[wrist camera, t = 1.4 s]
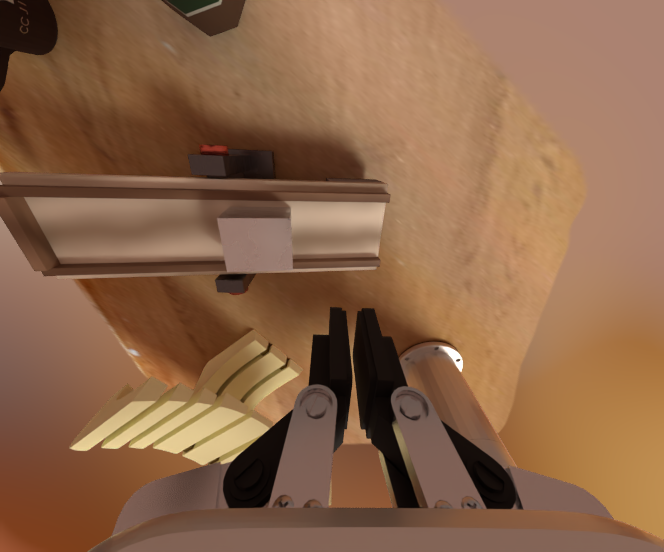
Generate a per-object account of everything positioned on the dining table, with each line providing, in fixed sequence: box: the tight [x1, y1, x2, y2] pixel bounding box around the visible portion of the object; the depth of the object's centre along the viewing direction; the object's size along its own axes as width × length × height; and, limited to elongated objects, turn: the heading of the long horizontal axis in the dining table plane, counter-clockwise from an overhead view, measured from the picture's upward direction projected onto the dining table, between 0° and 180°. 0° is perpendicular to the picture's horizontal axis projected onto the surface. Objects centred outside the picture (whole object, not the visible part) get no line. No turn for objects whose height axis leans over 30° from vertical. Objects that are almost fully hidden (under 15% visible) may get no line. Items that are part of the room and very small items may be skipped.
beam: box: [0, 172, 390, 279], centre depth 25 cm, size 10×34×6 cm, turn 88°
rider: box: [217, 207, 293, 272], centre depth 23 cm, size 5×6×4 cm
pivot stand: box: [188, 145, 275, 295], centre depth 27 cm, size 16×8×9 cm, turn 178°
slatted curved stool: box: [69, 329, 331, 505], centre depth 38 cm, size 30×16×18 cm, turn 39°
